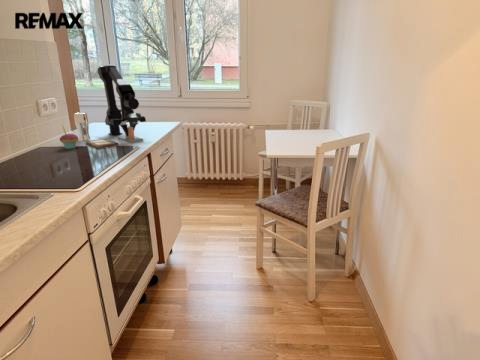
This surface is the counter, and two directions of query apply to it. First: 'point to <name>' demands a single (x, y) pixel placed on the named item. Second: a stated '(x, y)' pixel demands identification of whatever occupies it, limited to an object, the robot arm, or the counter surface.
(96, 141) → the block
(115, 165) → the counter surface
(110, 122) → the robot arm
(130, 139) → the gray plate with block
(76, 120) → the beer glass
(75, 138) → the cupcake
